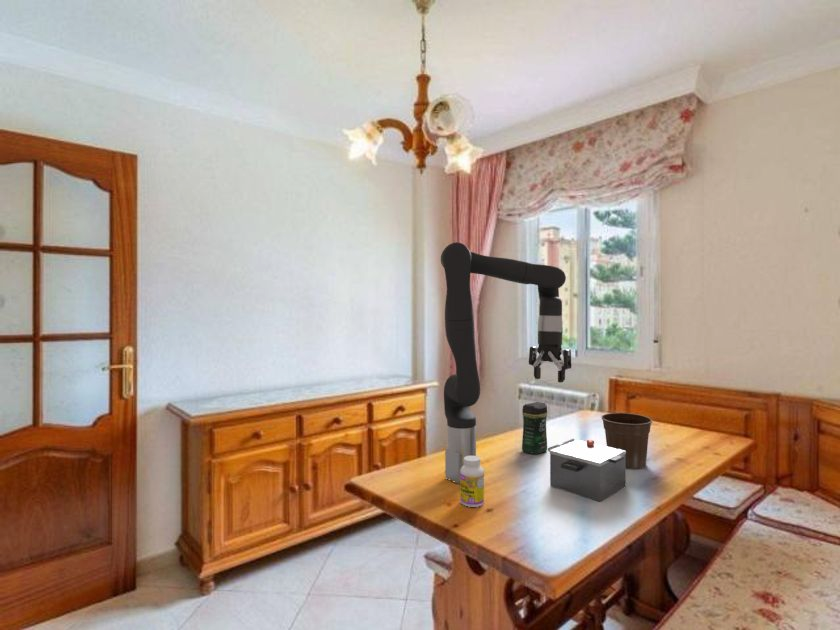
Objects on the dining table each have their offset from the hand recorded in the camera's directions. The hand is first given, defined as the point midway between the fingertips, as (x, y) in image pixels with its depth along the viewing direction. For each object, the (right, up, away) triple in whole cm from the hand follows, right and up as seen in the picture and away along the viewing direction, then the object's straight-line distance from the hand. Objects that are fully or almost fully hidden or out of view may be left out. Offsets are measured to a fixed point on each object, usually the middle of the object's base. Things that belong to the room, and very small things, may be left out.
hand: (548, 380), depth 148 cm
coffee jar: (+3, -31, +28) cm, 42 cm away
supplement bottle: (-27, -32, -18) cm, 46 cm away
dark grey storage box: (+10, -32, -7) cm, 34 cm away
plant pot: (+31, -31, +14) cm, 46 cm away
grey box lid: (+10, -21, -7) cm, 25 cm away
